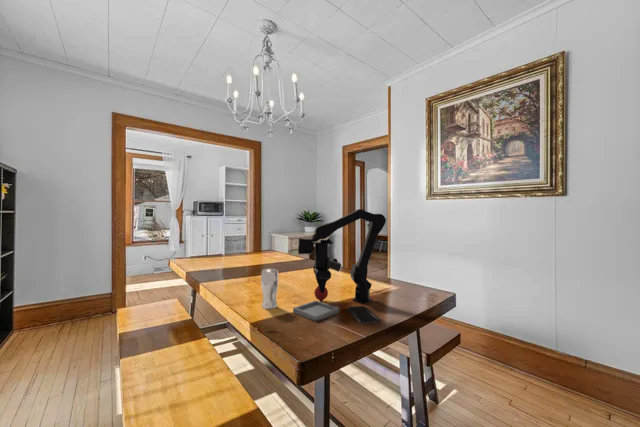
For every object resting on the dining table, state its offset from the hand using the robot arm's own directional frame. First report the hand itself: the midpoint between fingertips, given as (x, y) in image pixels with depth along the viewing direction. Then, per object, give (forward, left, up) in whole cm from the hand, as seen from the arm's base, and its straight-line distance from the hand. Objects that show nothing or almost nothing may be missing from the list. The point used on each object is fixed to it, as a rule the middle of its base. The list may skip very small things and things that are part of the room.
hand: (321, 289), depth 122 cm
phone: (0, +22, -6) cm, 23 cm away
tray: (+11, +8, -5) cm, 15 cm away
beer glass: (+20, -10, -5) cm, 23 cm away
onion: (0, 0, -5) cm, 5 cm away
